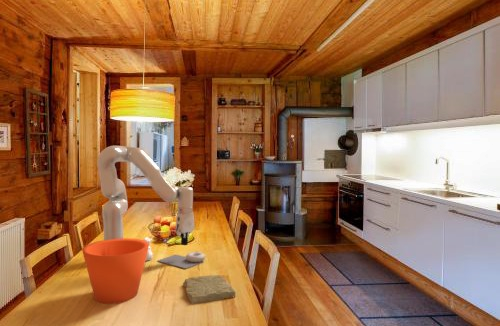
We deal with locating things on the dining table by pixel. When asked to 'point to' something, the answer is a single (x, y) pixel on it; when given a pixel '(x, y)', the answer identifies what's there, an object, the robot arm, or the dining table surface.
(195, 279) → the stone slab
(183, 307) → the dining table surface
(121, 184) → the robot arm
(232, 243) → the dining table surface
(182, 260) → the rubber mat
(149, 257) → the white creature statuette
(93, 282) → the flowerpot
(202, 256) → the donut
